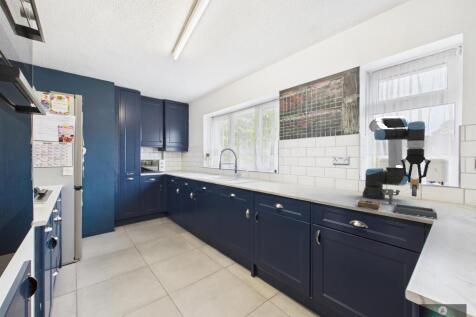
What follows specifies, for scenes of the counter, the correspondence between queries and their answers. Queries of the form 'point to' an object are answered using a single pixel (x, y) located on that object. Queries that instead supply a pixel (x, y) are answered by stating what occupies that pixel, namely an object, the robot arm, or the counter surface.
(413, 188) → the tall wooden block
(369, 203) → the block
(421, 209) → the parts tray
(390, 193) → the mechanical component
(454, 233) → the counter surface
